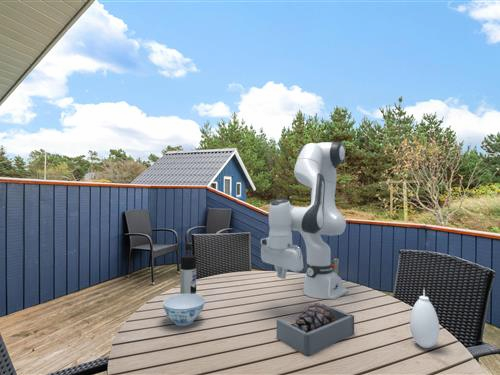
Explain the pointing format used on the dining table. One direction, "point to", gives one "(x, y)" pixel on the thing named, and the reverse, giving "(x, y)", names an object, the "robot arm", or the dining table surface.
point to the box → (316, 333)
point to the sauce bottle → (424, 322)
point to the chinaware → (183, 308)
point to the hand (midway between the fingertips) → (281, 277)
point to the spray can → (188, 274)
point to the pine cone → (314, 317)
